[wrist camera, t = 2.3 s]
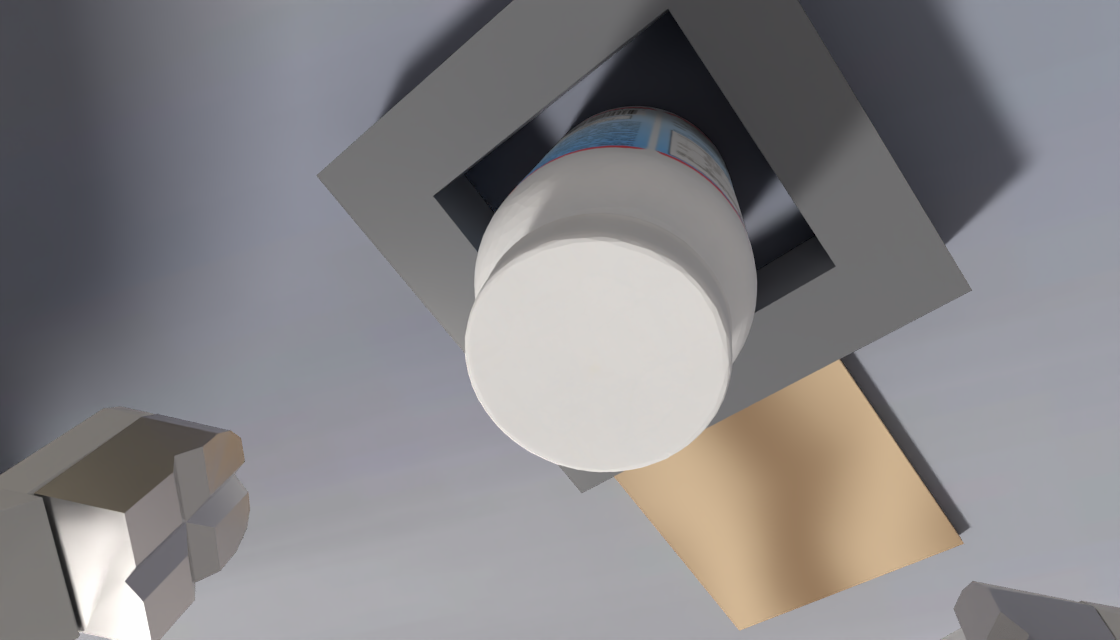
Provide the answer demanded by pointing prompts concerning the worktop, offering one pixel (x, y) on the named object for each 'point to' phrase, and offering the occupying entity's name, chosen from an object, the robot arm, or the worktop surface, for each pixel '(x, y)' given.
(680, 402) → the pill bottle
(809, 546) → the cork pad
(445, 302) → the grey square bottle holder
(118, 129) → the worktop surface
